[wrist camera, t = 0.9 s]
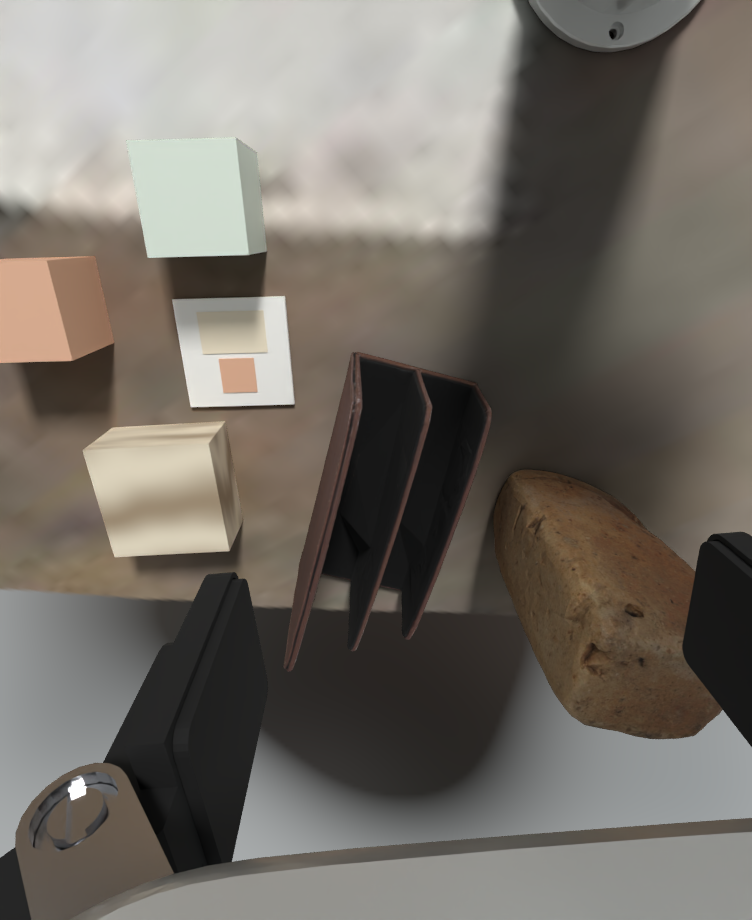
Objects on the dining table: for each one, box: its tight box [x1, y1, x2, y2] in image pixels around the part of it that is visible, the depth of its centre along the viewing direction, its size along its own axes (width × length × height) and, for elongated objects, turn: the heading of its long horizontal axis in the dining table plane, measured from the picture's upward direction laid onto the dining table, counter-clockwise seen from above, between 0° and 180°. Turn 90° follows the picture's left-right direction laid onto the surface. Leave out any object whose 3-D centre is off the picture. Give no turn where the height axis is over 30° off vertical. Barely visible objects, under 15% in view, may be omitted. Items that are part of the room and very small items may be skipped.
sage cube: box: [126, 137, 267, 258], centre depth 33 cm, size 6×6×6 cm
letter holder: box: [284, 352, 492, 671], centre depth 37 cm, size 10×20×14 cm, turn 165°
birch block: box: [82, 421, 243, 557], centre depth 41 cm, size 9×9×5 cm
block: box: [493, 469, 722, 739], centre depth 36 cm, size 11×8×20 cm
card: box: [172, 296, 295, 407], centre depth 39 cm, size 8×8×1 cm
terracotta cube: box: [0, 256, 114, 363], centre depth 35 cm, size 6×6×6 cm
